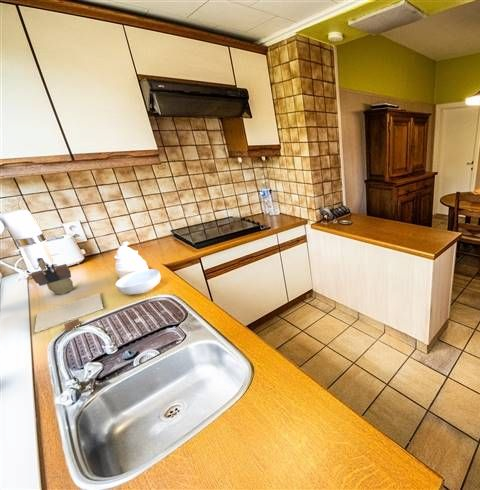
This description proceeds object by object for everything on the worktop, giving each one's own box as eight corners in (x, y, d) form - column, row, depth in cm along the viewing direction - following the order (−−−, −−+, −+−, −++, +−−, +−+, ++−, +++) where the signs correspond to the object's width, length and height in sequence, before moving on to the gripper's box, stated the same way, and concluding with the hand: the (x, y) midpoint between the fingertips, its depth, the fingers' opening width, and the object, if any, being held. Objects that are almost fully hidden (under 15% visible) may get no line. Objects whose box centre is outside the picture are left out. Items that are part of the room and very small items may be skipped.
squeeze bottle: (48, 295, 129) (28, 262, 122) (69, 286, 136) (51, 255, 129) (59, 297, 127) (38, 264, 120) (79, 288, 134) (61, 256, 127)
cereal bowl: (112, 297, 125) (106, 284, 122) (148, 279, 139) (143, 267, 137) (138, 302, 120) (131, 288, 117) (172, 283, 135) (167, 270, 132)
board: (35, 333, 104) (34, 331, 103) (38, 315, 114) (37, 313, 114) (103, 308, 117) (102, 306, 116) (100, 294, 128) (99, 292, 127)
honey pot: (141, 266, 154) (128, 237, 147) (153, 270, 149) (141, 240, 142) (114, 276, 144) (99, 246, 137) (126, 281, 138) (111, 250, 131)
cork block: (67, 332, 103) (64, 328, 102) (66, 328, 106) (64, 324, 105) (81, 326, 106) (79, 322, 105) (80, 322, 108) (78, 318, 108)
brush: (38, 286, 110) (30, 275, 108) (39, 283, 112) (31, 272, 110) (72, 277, 117) (65, 266, 114) (72, 274, 119) (66, 263, 117)
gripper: (19, 238, 110) (43, 276, 117) (13, 248, 99) (40, 290, 106) (46, 233, 115) (67, 270, 122) (43, 242, 104) (66, 282, 111)
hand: (54, 279), depth 114 cm, fingers closed on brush, 3 cm apart
